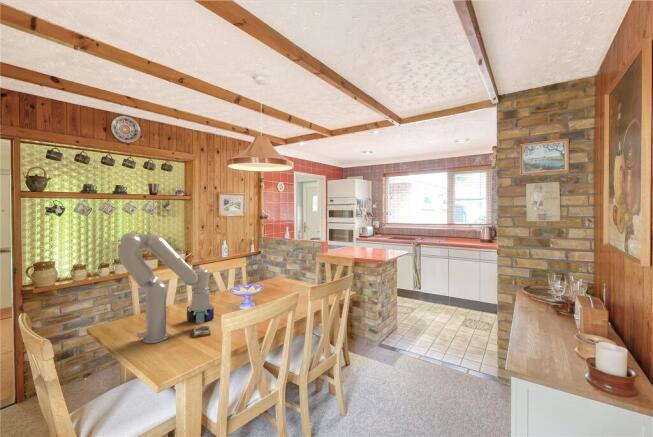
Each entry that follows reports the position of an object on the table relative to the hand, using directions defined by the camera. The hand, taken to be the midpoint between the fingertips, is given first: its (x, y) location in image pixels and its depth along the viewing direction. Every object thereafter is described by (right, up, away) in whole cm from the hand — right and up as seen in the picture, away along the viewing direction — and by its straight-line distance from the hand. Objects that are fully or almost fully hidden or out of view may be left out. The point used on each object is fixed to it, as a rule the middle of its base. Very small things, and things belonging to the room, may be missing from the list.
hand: (200, 320), depth 174 cm
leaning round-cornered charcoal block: (-5, -4, +12) cm, 13 cm away
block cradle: (+4, -5, -7) cm, 10 cm away
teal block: (0, -1, 0) cm, 1 cm away
